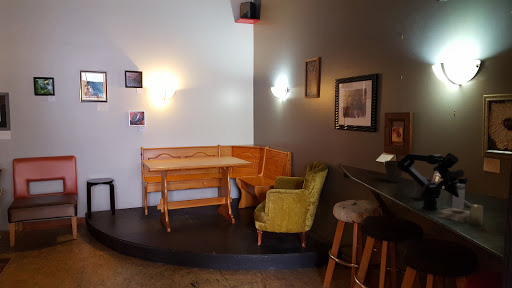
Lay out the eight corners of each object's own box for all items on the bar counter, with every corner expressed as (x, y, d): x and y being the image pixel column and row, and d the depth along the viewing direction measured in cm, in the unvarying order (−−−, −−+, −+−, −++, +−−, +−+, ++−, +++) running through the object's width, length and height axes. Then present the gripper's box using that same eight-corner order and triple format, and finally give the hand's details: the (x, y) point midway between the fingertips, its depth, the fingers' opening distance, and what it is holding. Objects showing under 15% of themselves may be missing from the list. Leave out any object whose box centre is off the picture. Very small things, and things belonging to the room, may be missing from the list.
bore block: (438, 216, 218) (438, 211, 218) (451, 212, 226) (452, 207, 226) (463, 222, 207) (464, 217, 206) (477, 218, 215) (477, 212, 214)
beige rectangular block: (466, 224, 204) (467, 205, 203) (472, 222, 208) (473, 203, 207) (478, 227, 200) (479, 207, 199) (484, 225, 203) (485, 206, 202)
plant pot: (379, 180, 316) (380, 161, 314) (393, 179, 322) (394, 159, 320) (393, 184, 302) (394, 163, 301) (407, 182, 309) (408, 162, 307)
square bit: (452, 207, 217) (453, 184, 215) (457, 206, 219) (458, 183, 217) (458, 209, 213) (459, 185, 212) (463, 208, 215) (465, 185, 213)
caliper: (454, 202, 250) (455, 192, 250) (456, 201, 250) (456, 192, 250) (475, 210, 230) (476, 200, 230) (477, 210, 230) (478, 200, 230)
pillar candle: (431, 200, 253) (432, 177, 252) (415, 199, 255) (416, 176, 254) (428, 197, 263) (429, 174, 261) (412, 196, 264) (413, 174, 263)
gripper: (441, 165, 213) (458, 190, 204) (466, 163, 220) (483, 187, 212) (429, 177, 221) (444, 201, 213) (453, 174, 229) (469, 198, 220)
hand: (460, 196), depth 214 cm, fingers closed on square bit, 4 cm apart
